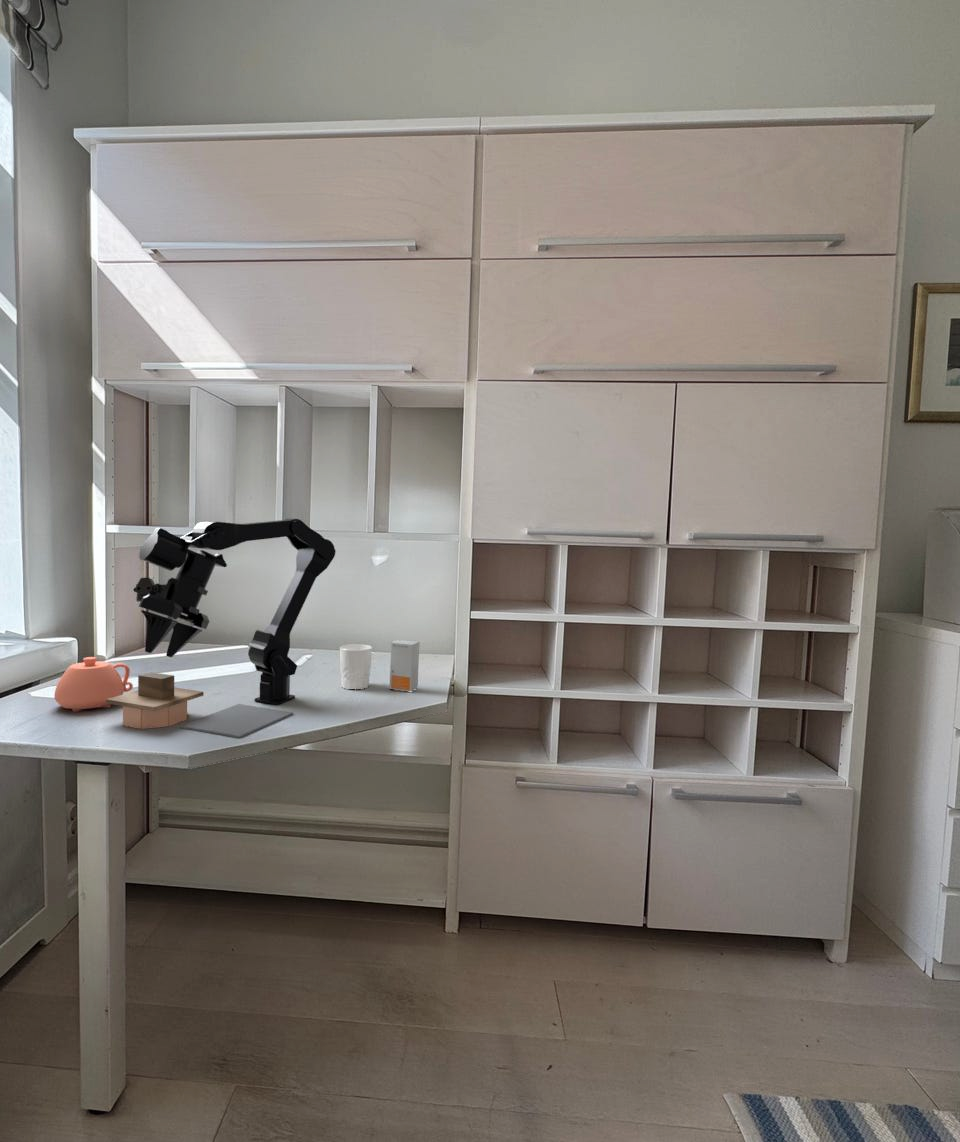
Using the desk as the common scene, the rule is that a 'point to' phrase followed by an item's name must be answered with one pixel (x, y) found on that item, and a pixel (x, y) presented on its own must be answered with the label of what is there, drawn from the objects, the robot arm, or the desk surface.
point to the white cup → (355, 666)
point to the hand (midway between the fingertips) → (158, 654)
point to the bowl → (154, 716)
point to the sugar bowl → (91, 684)
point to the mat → (236, 720)
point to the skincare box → (404, 665)
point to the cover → (154, 693)
